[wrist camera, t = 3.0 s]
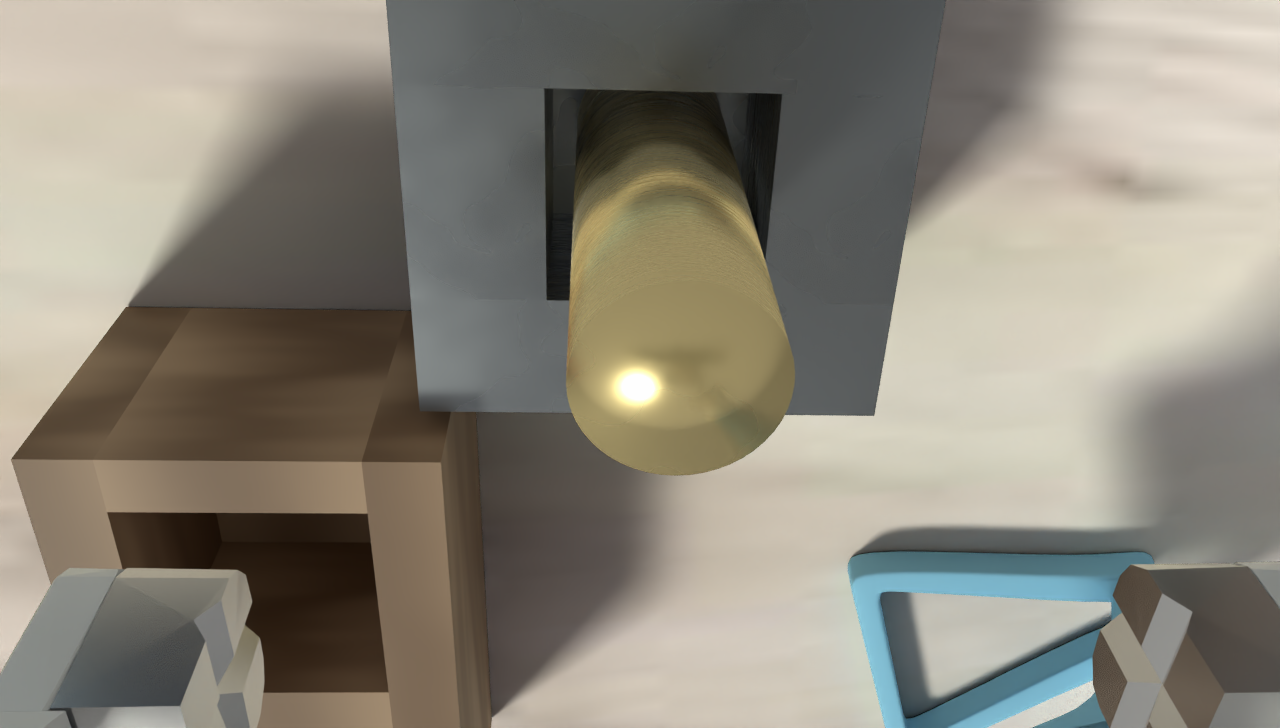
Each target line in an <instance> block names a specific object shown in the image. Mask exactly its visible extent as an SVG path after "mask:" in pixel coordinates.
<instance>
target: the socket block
mask: <svg viewBox="0 0 1280 728" xmlns="http://www.w3.org/2000/svg"><path fill="white" fill-rule="evenodd" d="M945 1H946V0H386V7H387V19H388V32H389V44H390V56H391V68H392V80H393V92H394V104H395V117H396V129H397V141H398V153H399V165H400V177H401V190H402V202H403V214H404V226H405V238H406V250H407V262H408V275H409V287H410V299H411V311H412V323H413V335H414V348H415V360H416V372H417V384H418V396H419V408H420V411H435V412H540V413H572V411H571V409H570V406H569V402H568V397H567V389H566V370H567V347H568V324H569V301H570V278H571V255H572V232H573V208H574V185H575V162H576V139H577V119H578V112H579V107H580V104H581V101H582V98H583V96H584V94H585V92H586V90H587V89H597V90H641V91H684V92H715V94H716V97H717V99H718V102H719V105H720V109H721V112H722V115H723V119H724V122H725V126H726V129H727V133H728V136H729V139H730V143H731V146H732V150H733V153H734V156H735V160H736V163H737V167H738V170H739V173H740V177H741V180H742V184H743V187H744V191H745V194H746V197H747V201H748V204H749V208H750V211H751V214H752V218H753V221H754V225H755V228H756V231H757V235H758V238H759V242H760V245H761V248H762V252H763V255H764V259H765V262H766V266H767V269H768V272H769V276H770V279H771V283H772V286H773V289H774V293H775V296H776V300H777V303H778V306H779V310H780V313H781V317H782V320H783V324H784V327H785V330H786V334H787V337H788V341H789V344H790V347H791V351H792V355H793V359H794V367H795V384H794V390H793V395H792V399H791V401H790V404H789V407H788V410H787V411H786V413H785V415H856V416H874V414H875V408H876V402H877V396H878V391H879V385H880V379H881V373H882V367H883V361H884V356H885V350H886V344H887V338H888V332H889V327H890V321H891V315H892V309H893V303H894V298H895V292H896V286H897V280H898V274H899V269H900V263H901V257H902V251H903V245H904V240H905V234H906V228H907V222H908V216H909V211H910V205H911V199H912V193H913V187H914V181H915V176H916V170H917V164H918V158H919V152H920V147H921V141H922V135H923V129H924V123H925V118H926V112H927V106H928V100H929V94H930V89H931V83H932V77H933V71H934V65H935V60H936V54H937V48H938V42H939V36H940V31H941V25H942V19H943V13H944V7H945Z"/></svg>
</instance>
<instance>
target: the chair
mask: <svg viewBox="0 0 1280 728" xmlns="http://www.w3.org/2000/svg"><path fill="white" fill-rule="evenodd" d="M1131 564H1155V563H1154V561H1153V558H1152V556H1151V555H1149V554H1147V553H1145V552H1125V553H1109V554H1082V555H1051V554H1003V553H965V552H911V551H896V552H873V553H867V554H860V555H857V556H854V557H852V558H851V559H850V561H849V563H848V574H849V579H850V584H851V589H852V593H853V598H854V602H855V606H856V610H857V614H858V618H859V622H860V626H861V630H862V634H863V638H864V643H865V647H866V651H867V655H868V659H869V663H870V667H871V671H872V675H873V679H874V683H875V687H876V692H877V696H878V700H879V704H880V708H881V712H882V716H883V720H884V724H885V728H987V727H989V726H991V725H993V724H996V723H998V722H1000V721H1002V720H1004V719H1007V718H1009V717H1011V716H1013V715H1016V714H1018V713H1020V712H1022V711H1024V710H1027V709H1029V708H1031V707H1033V706H1035V705H1038V704H1040V703H1042V702H1044V701H1046V700H1049V699H1051V698H1053V697H1055V696H1057V695H1060V694H1062V693H1064V692H1067V691H1069V690H1071V689H1073V688H1076V687H1078V686H1080V685H1082V684H1085V683H1087V682H1089V681H1092V680H1093V661H1092V655H1093V652H1094V649H1095V645H1096V642H1097V639H1098V636H1099V632H1100V630H1101V629H1102V628H1103V627H1102V628H1100V629H1098V630H1095V631H1093V632H1091V633H1088V634H1086V635H1084V636H1081V637H1079V638H1077V639H1075V640H1073V641H1071V642H1068V643H1066V644H1064V645H1062V646H1060V647H1058V648H1056V649H1054V650H1051V651H1049V652H1047V653H1045V654H1043V655H1041V656H1039V657H1037V658H1035V659H1033V660H1031V661H1029V662H1027V663H1025V664H1023V665H1021V666H1019V667H1017V668H1015V669H1013V670H1010V671H1008V672H1006V673H1004V674H1002V675H1000V676H998V677H996V678H994V679H992V680H990V681H988V682H986V683H984V684H982V685H980V686H978V687H976V688H974V689H972V690H970V691H968V692H966V693H964V694H962V695H960V696H958V697H956V698H954V699H952V700H950V701H948V702H946V703H944V704H942V705H940V706H938V707H936V708H934V709H932V710H929V711H927V712H925V713H923V714H921V715H919V716H916V717H913V718H907V719H906V717H905V716H904V715H903V710H902V705H901V700H900V696H899V691H898V686H897V681H896V676H895V671H894V666H893V661H892V656H891V651H890V646H889V641H888V636H887V631H886V626H885V621H884V616H883V611H882V607H881V602H880V596H881V593H884V592H916V593H935V594H954V595H972V596H989V597H1007V598H1024V599H1041V600H1062V601H1084V602H1112V611H1111V621H1112V620H1113V619H1114V618H1116V617H1117V616H1118V615H1119V614H1121V613H1122V612H1121V610H1120V608H1119V606H1118V604H1117V603H1116V601H1115V599H1114V597H1113V593H1114V590H1115V587H1116V585H1117V582H1118V579H1119V577H1120V575H1121V574H1122V573H1123V572H1124V571H1125V570H1126V569H1127V568H1128V567H1129V566H1130V565H1131ZM1033 728H1109V726H1108V724H1107V722H1106V720H1105V718H1104V716H1103V714H1102V712H1101V709H1100V707H1099V704H1098V701H1097V697H1096V693H1094V694H1093V695H1092V697H1091V698H1089V699H1088V700H1087V701H1086V702H1084V703H1083V704H1082V705H1080V706H1079V707H1078V708H1076V709H1074V710H1072V711H1070V712H1068V713H1066V714H1064V715H1062V716H1060V717H1057V718H1055V719H1052V720H1050V721H1047V722H1045V723H1042V724H1040V725H1037V726H1035V727H1033Z"/></svg>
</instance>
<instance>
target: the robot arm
mask: <svg viewBox="0 0 1280 728" xmlns="http://www.w3.org/2000/svg"><path fill="white" fill-rule="evenodd" d="M1113 597H1114V599H1115V601H1116V603H1117V604H1118V606H1119V608H1120V610H1121V612H1122V613H1121V614H1119V615H1118V616H1117V617H1116V618H1114V619H1113V620H1112V621H1111V622H1109V623H1108V624H1107V625H1106V626H1104V627H1103V628H1102V629H1101V630H1100V632H1099V636H1098V639H1097V642H1096V645H1095V649H1094V652H1093V655H1092V661H1093V686H1094V689H1095V693H1096V697H1097V701H1098V704H1099V707H1100V709H1101V712H1102V714H1103V716H1104V718H1105V720H1106V722H1107V724H1108V726H1109V728H1280V561H1278V562H1236V563H1234V564H1230V563H1197V564H1131V565H1130V566H1129V567H1128V568H1127V569H1126V570H1125V571H1124V572H1123V573H1122V574H1121V575H1120V577H1119V579H1118V582H1117V585H1116V587H1115V590H1114V593H1113ZM251 604H252V598H251V594H250V590H249V586H248V582H247V578H246V575H245V574H244V573H242V572H240V571H239V570H217V569H160V568H126V569H91V568H69V569H67V570H66V571H65V572H63V573H62V574H60V575H59V576H58V577H57V578H56V579H55V580H54V581H53V582H52V584H51V586H50V588H49V589H48V591H47V593H46V595H45V596H44V598H43V600H42V602H41V603H40V605H39V607H38V609H37V610H36V612H35V614H34V616H33V617H32V619H31V621H30V622H29V624H28V626H27V628H26V629H25V631H24V633H23V635H22V636H21V638H20V640H19V642H18V643H17V645H16V647H15V649H14V650H13V652H12V654H11V655H10V657H9V659H8V661H7V662H6V664H5V666H4V668H3V669H2V671H1V673H0V728H257V725H258V722H259V718H260V714H261V707H262V699H263V690H264V682H265V680H264V657H263V652H262V647H261V641H260V637H259V636H257V635H256V634H255V633H254V632H253V631H252V630H250V629H249V628H248V627H247V626H246V625H245V622H246V619H247V616H248V613H249V610H250V607H251Z"/></svg>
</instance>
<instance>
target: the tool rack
mask: <svg viewBox="0 0 1280 728" xmlns="http://www.w3.org/2000/svg"><path fill="white" fill-rule="evenodd" d="M11 461H12V464H13V467H14V470H15V473H16V476H17V480H18V483H19V486H20V489H21V492H22V495H23V498H24V502H25V505H26V508H27V511H28V514H29V517H30V520H31V523H32V527H33V530H34V533H35V536H36V539H37V542H38V545H39V548H40V552H41V555H42V558H43V561H44V564H45V567H46V570H47V574H48V577H49V580H50V583H51V584H52V582H53V581H54V580H55V579H56V578H57V577H58V576H59V575H60V574H62V573H63V572H65V571H66V570H67V569H69V568H91V569H126V568H160V569H217V570H239V571H240V572H242V573H244V574H245V575H246V578H247V582H248V586H249V590H250V594H251V598H252V604H251V607H250V610H249V613H248V616H247V619H246V622H245V625H246V626H247V627H248V628H249V629H250V630H252V631H253V632H254V633H255V634H256V635H257V636H259V637H260V641H261V647H262V652H263V657H264V680H265V682H264V690H263V699H262V707H261V714H260V718H259V722H258V725H257V728H491V721H492V715H491V696H490V676H489V656H488V637H487V617H486V597H485V578H484V558H483V538H482V518H481V499H480V479H479V459H478V440H477V420H476V412H435V411H420V408H419V396H418V384H417V372H416V360H415V348H414V335H413V323H412V311H383V310H310V309H237V308H164V307H126V308H125V309H124V311H123V312H122V313H121V315H120V316H119V317H118V318H117V320H116V321H115V322H114V324H113V325H112V326H111V328H110V329H109V330H108V332H107V333H106V334H105V336H104V337H103V338H102V340H101V341H100V342H99V344H98V345H97V346H96V348H95V349H94V350H93V352H92V353H91V354H90V356H89V357H88V358H87V360H86V361H85V362H84V363H83V365H82V366H81V367H80V369H79V370H78V371H77V373H76V374H75V375H74V377H73V378H72V379H71V381H70V382H69V383H68V385H67V386H66V387H65V389H64V390H63V391H62V393H61V394H60V395H59V397H58V398H57V399H56V401H55V402H54V403H53V405H52V406H51V407H50V408H49V410H48V411H47V412H46V414H45V415H44V416H43V418H42V419H41V420H40V422H39V423H38V424H37V426H36V427H35V428H34V430H33V431H32V432H31V434H30V435H29V436H28V438H27V439H26V440H25V442H24V443H23V444H22V446H21V447H20V448H19V450H18V451H17V452H16V453H15V455H14V456H13V457H12V459H11Z"/></svg>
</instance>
